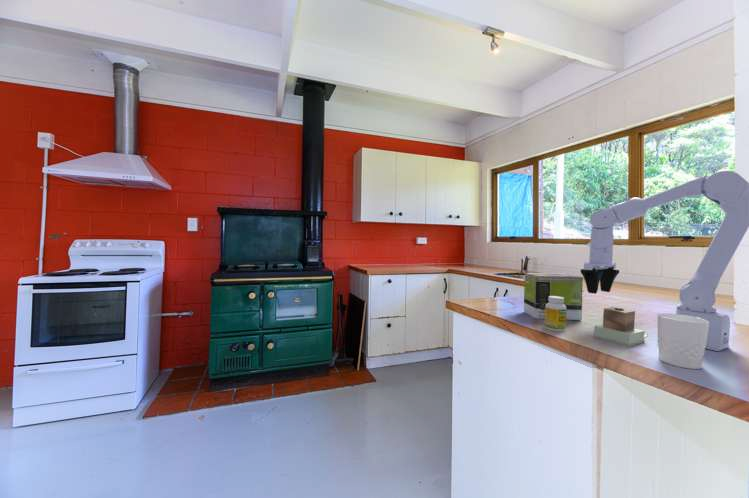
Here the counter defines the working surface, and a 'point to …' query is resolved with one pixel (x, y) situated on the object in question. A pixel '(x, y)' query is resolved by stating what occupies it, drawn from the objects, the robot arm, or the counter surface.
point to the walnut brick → (618, 319)
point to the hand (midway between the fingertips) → (598, 292)
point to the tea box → (552, 293)
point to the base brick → (619, 335)
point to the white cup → (682, 340)
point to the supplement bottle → (555, 314)
